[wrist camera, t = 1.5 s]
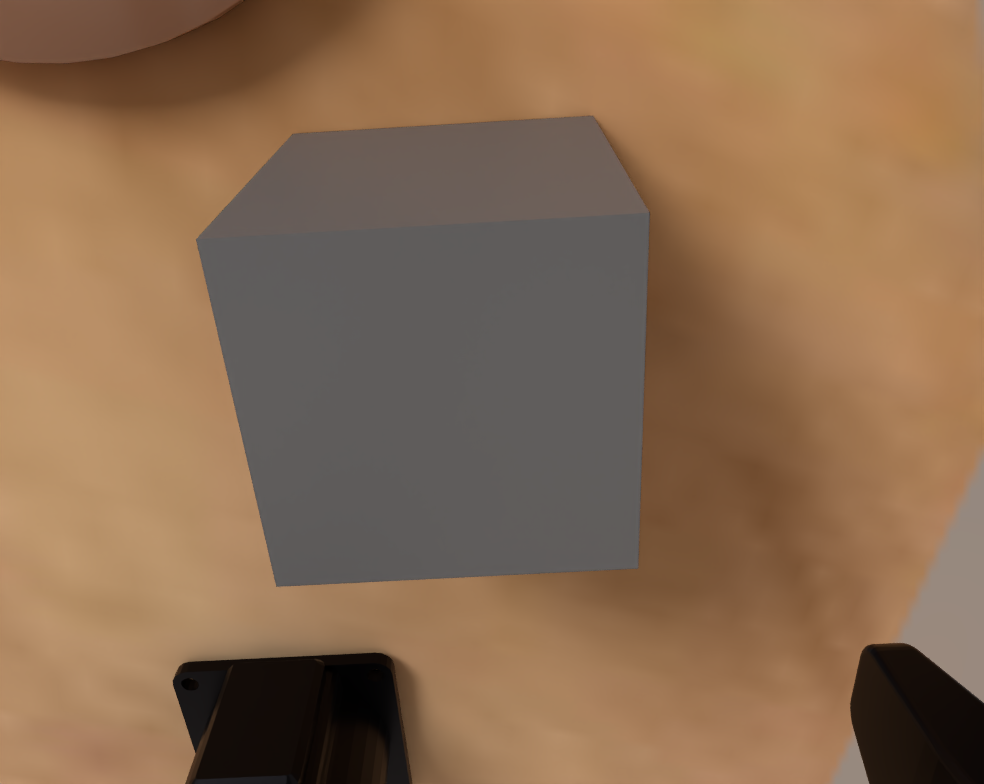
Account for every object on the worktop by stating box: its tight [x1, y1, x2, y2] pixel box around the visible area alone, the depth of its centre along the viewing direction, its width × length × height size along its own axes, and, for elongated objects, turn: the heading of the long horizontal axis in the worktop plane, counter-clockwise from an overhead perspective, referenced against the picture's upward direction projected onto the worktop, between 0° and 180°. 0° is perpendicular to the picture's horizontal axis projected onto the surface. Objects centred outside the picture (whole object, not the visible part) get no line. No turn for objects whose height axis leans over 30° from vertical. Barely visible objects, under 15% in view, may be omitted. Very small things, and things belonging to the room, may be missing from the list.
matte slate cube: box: [196, 116, 650, 587], centre depth 17 cm, size 6×6×7 cm
